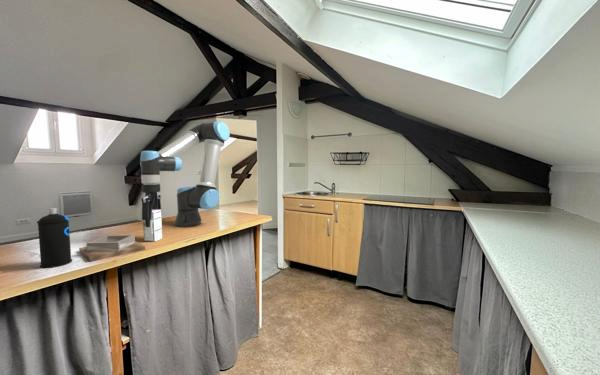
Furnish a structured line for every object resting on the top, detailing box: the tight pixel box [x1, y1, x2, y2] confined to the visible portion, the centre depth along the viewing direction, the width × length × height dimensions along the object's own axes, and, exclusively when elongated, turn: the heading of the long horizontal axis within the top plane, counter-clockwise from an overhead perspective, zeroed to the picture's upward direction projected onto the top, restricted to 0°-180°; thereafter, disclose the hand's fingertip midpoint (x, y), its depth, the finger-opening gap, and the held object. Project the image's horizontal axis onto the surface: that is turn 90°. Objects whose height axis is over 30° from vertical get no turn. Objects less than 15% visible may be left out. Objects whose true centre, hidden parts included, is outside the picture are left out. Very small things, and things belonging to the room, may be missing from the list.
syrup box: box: [142, 209, 163, 242], centre depth 118 cm, size 6×6×14 cm
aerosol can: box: [36, 207, 73, 269], centre depth 87 cm, size 8×8×20 cm
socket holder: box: [78, 234, 146, 263], centre depth 102 cm, size 18×18×5 cm
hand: (152, 231), depth 118 cm, fingers closed on syrup box, 6 cm apart
